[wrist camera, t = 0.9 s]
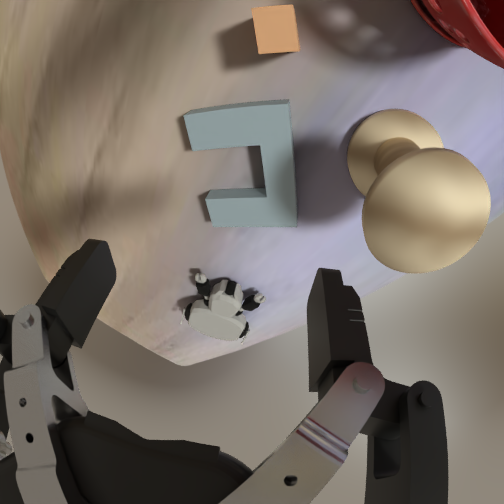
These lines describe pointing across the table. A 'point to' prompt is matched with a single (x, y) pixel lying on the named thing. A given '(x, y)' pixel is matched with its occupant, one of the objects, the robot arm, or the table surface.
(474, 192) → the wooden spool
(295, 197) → the notched board
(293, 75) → the table surface
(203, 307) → the robot toy
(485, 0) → the plant pot
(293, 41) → the block
